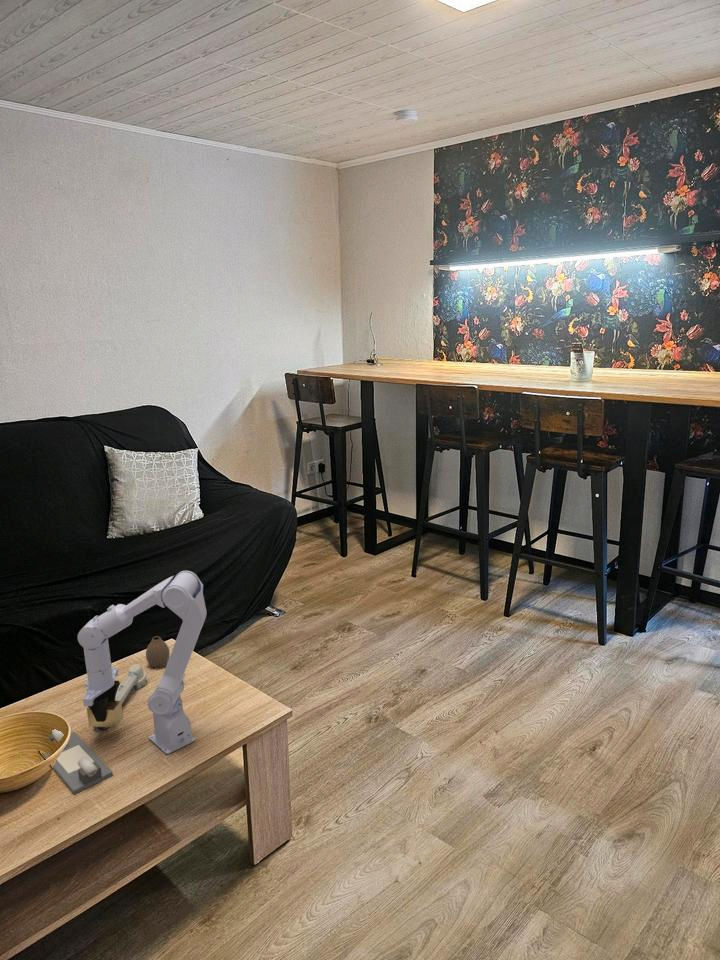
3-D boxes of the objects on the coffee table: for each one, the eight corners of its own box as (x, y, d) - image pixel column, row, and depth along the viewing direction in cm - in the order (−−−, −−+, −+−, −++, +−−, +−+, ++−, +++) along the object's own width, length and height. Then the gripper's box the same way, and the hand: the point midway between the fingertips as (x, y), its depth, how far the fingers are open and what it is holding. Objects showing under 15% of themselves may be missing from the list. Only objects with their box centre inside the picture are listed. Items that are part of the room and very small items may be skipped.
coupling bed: (112, 775, 156) (110, 757, 155) (74, 794, 150) (71, 776, 149) (74, 734, 172) (72, 718, 171) (38, 750, 166) (35, 734, 165)
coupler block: (122, 718, 171) (120, 700, 170) (115, 727, 167) (113, 709, 166) (96, 716, 172) (94, 699, 171) (88, 726, 168) (86, 708, 167)
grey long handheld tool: (87, 718, 173) (130, 657, 195) (92, 738, 175) (133, 676, 198) (107, 719, 172) (147, 658, 195) (111, 739, 174) (150, 677, 197)
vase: (144, 662, 207) (142, 636, 205) (167, 656, 210) (165, 630, 208) (149, 672, 201) (147, 645, 199) (173, 666, 204) (170, 640, 202)
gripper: (97, 651, 173) (103, 698, 176) (68, 681, 159) (75, 732, 162) (123, 652, 172) (129, 699, 176) (96, 682, 158) (103, 733, 162)
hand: (105, 715), depth 169 cm, fingers closed on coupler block, 4 cm apart
